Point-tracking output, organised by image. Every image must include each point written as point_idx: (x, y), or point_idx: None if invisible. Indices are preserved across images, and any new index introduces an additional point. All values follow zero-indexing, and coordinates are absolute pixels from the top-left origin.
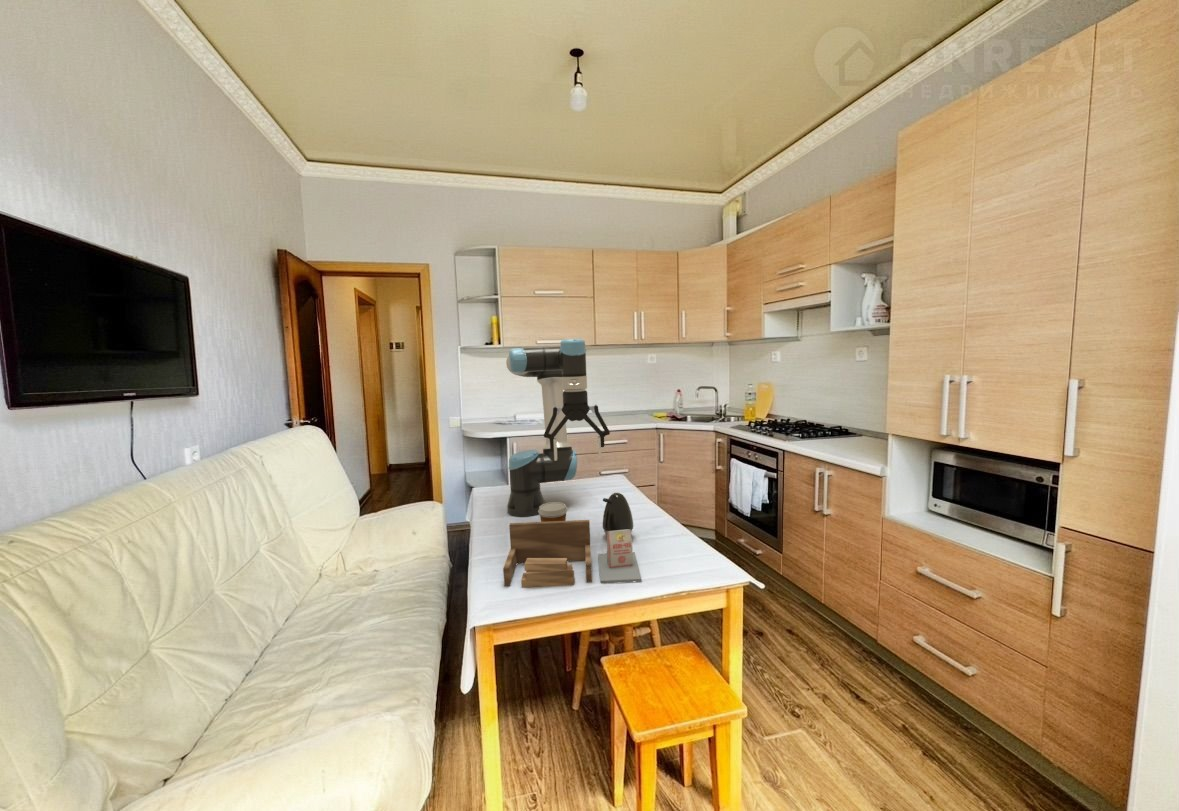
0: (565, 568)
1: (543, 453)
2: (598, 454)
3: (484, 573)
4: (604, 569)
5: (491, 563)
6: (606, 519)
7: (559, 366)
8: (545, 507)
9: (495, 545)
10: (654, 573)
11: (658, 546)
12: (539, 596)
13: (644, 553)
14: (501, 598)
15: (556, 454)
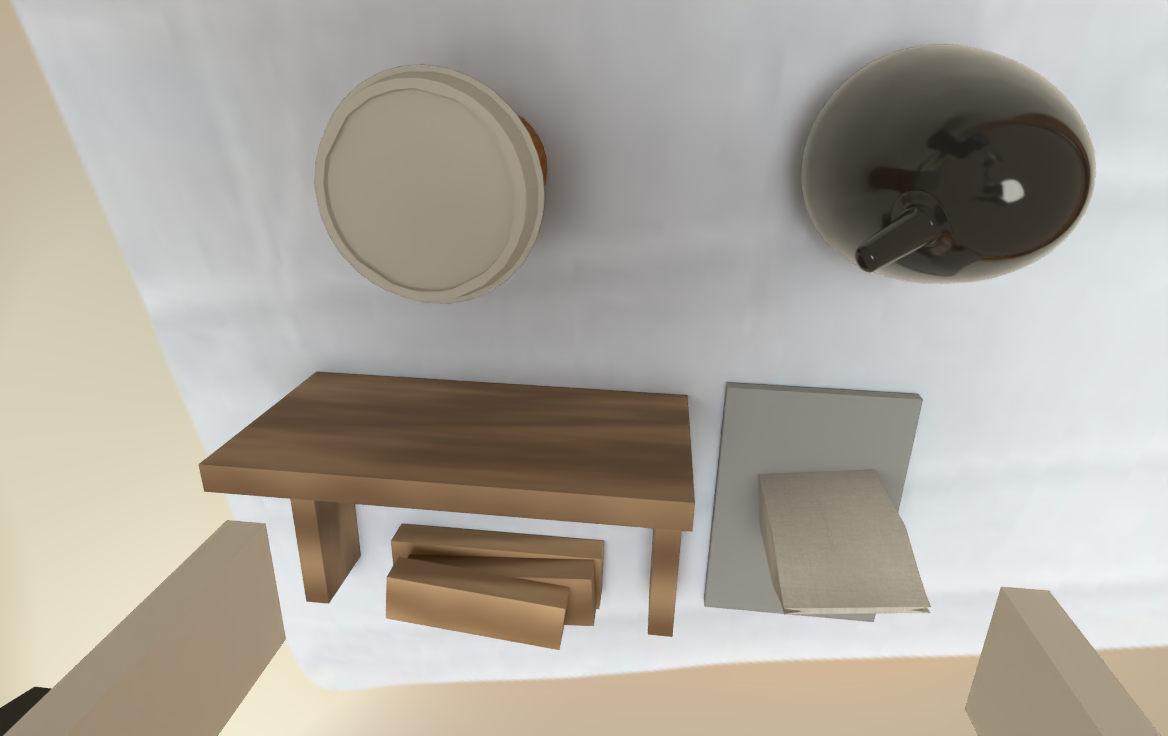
0: (562, 633)
1: None
2: (1008, 692)
3: None
4: (734, 532)
5: (226, 371)
6: (838, 235)
7: None
8: (363, 184)
9: (169, 171)
10: (948, 567)
11: (1089, 320)
12: None
13: (975, 388)
14: (353, 620)
15: (227, 715)
